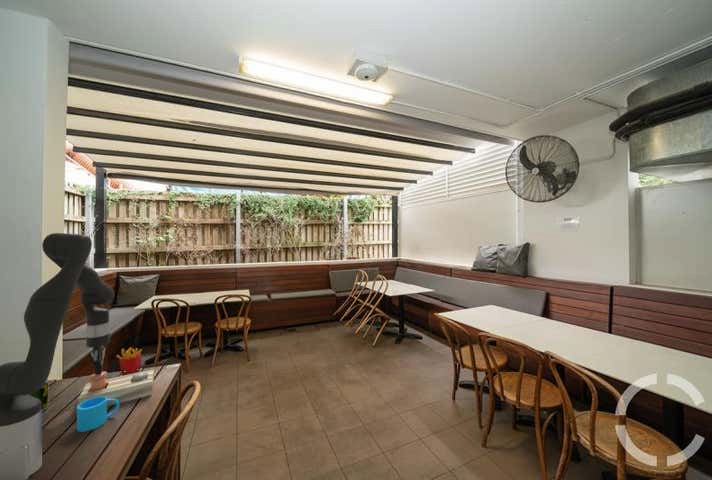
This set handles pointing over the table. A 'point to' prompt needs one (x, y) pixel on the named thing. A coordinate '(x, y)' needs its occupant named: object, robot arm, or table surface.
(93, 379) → the terracotta plug
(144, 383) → the plug console
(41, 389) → the beer can
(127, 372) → the french fries
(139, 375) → the grey plug
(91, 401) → the mug
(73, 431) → the table surface
